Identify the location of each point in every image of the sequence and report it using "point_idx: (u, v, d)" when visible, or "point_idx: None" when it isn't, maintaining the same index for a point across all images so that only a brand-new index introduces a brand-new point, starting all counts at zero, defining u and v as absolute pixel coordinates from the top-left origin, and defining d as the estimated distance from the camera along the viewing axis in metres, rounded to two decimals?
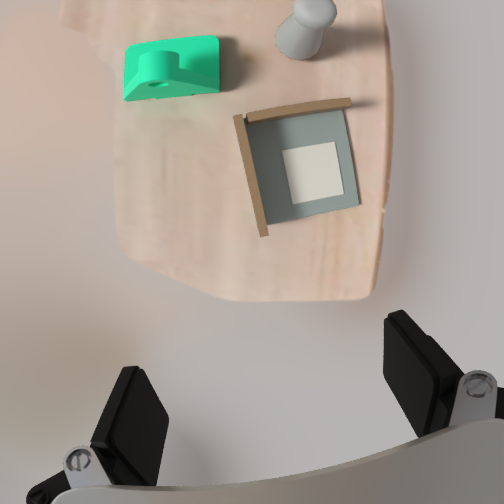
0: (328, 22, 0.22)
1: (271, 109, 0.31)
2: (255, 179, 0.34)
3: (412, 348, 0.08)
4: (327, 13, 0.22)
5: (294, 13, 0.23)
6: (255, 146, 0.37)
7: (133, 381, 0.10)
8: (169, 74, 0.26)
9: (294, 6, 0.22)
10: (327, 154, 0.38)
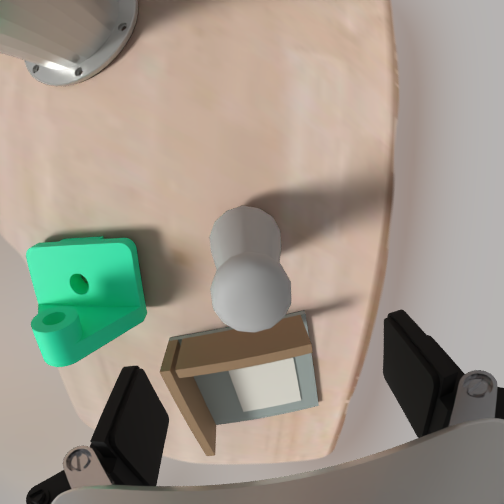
0: (271, 327, 0.16)
1: (204, 366, 0.25)
2: (195, 422, 0.28)
3: (412, 348, 0.08)
4: (270, 317, 0.16)
5: None
6: None
7: (133, 381, 0.10)
8: (70, 358, 0.20)
9: None
10: (283, 369, 0.32)
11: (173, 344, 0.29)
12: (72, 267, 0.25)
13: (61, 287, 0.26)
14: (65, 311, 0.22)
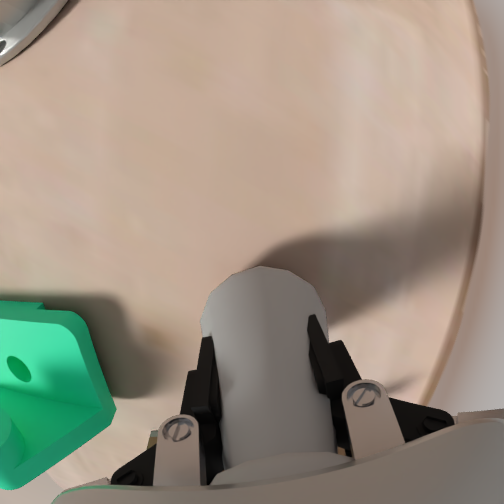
0: None
1: None
2: None
3: (309, 351, 0.09)
4: None
5: None
6: None
7: None
8: (12, 482, 0.09)
9: None
10: None
11: None
12: (6, 347, 0.14)
13: (0, 368, 0.15)
14: None
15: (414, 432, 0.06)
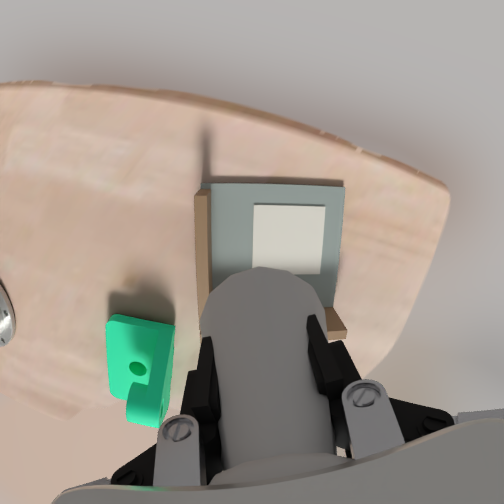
0: None
1: (199, 303, 0.27)
2: None
3: (309, 351, 0.09)
4: None
5: None
6: None
7: None
8: (153, 407, 0.26)
9: None
10: (268, 217, 0.30)
11: None
12: (124, 367, 0.32)
13: (140, 383, 0.33)
14: None
15: (414, 432, 0.06)
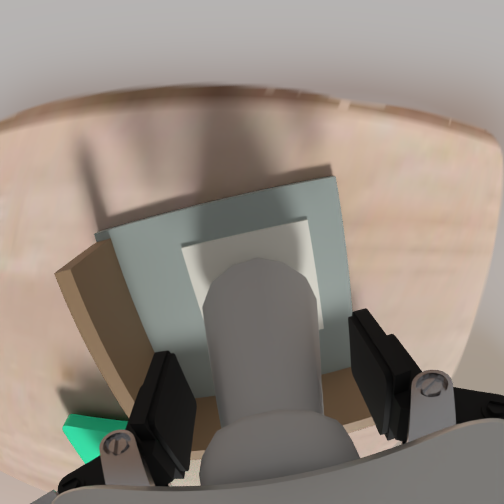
0: None
1: None
2: None
3: (369, 346, 0.09)
4: None
5: None
6: (211, 387, 0.20)
7: (166, 365, 0.10)
8: None
9: None
10: (212, 262, 0.17)
11: None
12: None
13: None
14: None
15: (480, 417, 0.05)
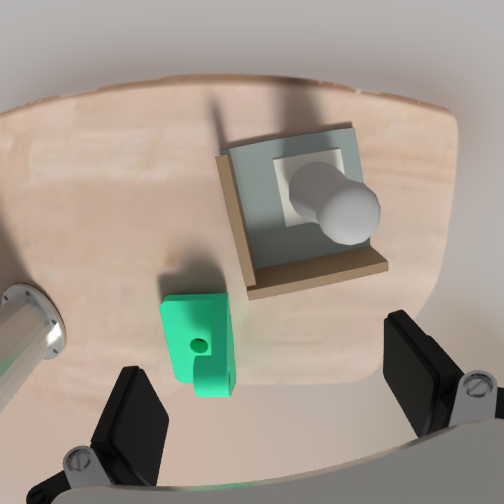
0: (364, 240, 0.20)
1: (240, 259, 0.28)
2: (325, 276, 0.29)
3: (412, 348, 0.08)
4: (366, 229, 0.19)
5: (318, 221, 0.20)
6: (280, 256, 0.33)
7: (133, 381, 0.10)
8: (220, 374, 0.28)
9: (320, 212, 0.19)
10: (289, 169, 0.30)
11: None
12: (185, 348, 0.35)
13: None
14: None
15: None
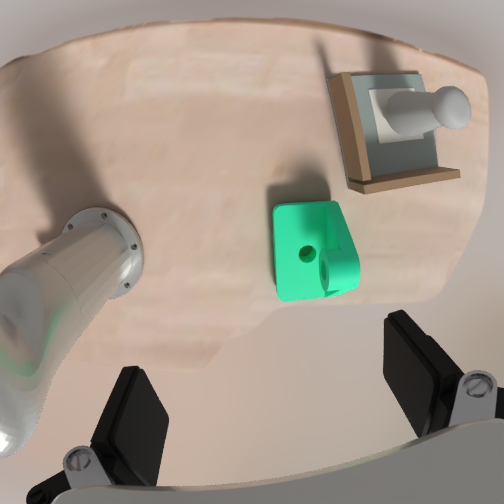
0: None
1: (360, 155, 0.30)
2: (419, 177, 0.31)
3: (412, 348, 0.08)
4: (466, 117, 0.22)
5: (437, 110, 0.22)
6: (374, 169, 0.36)
7: (133, 381, 0.10)
8: (353, 259, 0.30)
9: (439, 102, 0.22)
10: (380, 98, 0.33)
11: (351, 184, 0.36)
12: (293, 257, 0.37)
13: (310, 271, 0.38)
14: (320, 261, 0.33)
15: None
